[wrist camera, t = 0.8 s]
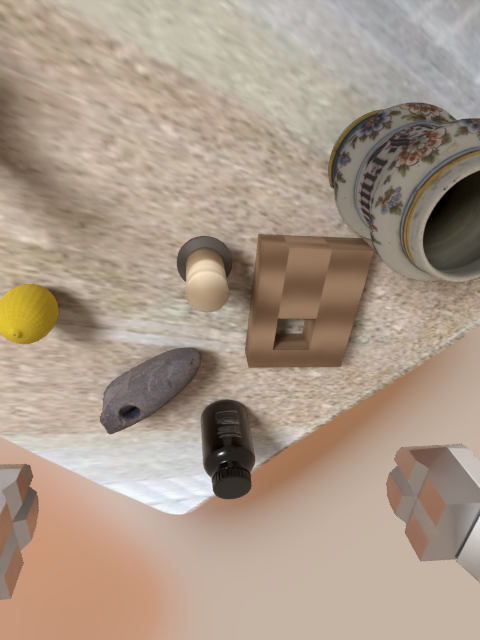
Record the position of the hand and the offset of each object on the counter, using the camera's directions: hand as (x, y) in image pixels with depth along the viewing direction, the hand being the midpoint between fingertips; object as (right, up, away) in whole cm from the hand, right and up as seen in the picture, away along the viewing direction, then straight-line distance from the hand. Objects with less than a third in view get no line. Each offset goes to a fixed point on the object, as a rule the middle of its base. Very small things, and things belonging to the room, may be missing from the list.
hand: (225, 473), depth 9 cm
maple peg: (-4, +11, +35) cm, 37 cm away
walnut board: (+8, +6, +40) cm, 41 cm away
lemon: (-22, +6, +36) cm, 42 cm away
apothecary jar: (+14, +20, +32) cm, 40 cm away
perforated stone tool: (-11, -3, +43) cm, 45 cm away
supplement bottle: (-2, -10, +50) cm, 51 cm away
